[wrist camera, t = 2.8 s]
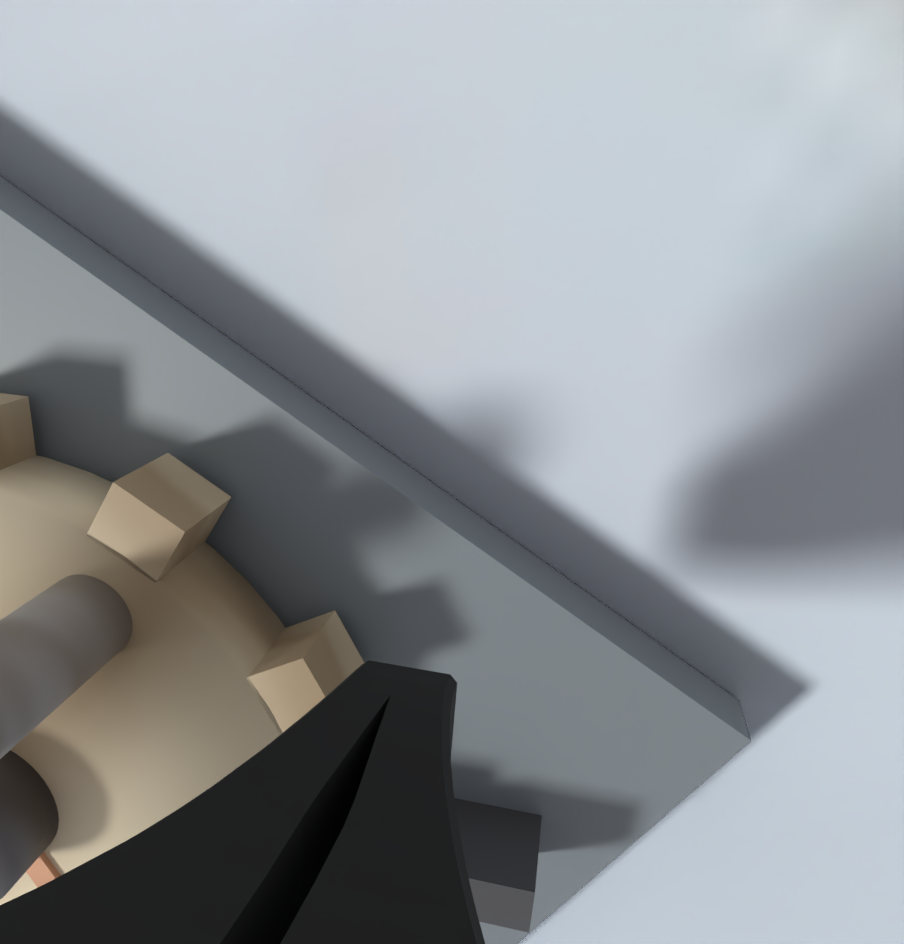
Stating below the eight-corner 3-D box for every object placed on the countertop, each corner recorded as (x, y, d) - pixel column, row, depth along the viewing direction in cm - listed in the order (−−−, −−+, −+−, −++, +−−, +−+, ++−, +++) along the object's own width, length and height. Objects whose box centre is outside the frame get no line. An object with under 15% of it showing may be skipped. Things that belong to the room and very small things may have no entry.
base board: (738, 700, 14) (774, 817, 11) (274, 1119, 22) (227, 1252, 19) (-206, 29, 13) (-417, -22, 11) (-353, 705, 21) (-500, 780, 18)
